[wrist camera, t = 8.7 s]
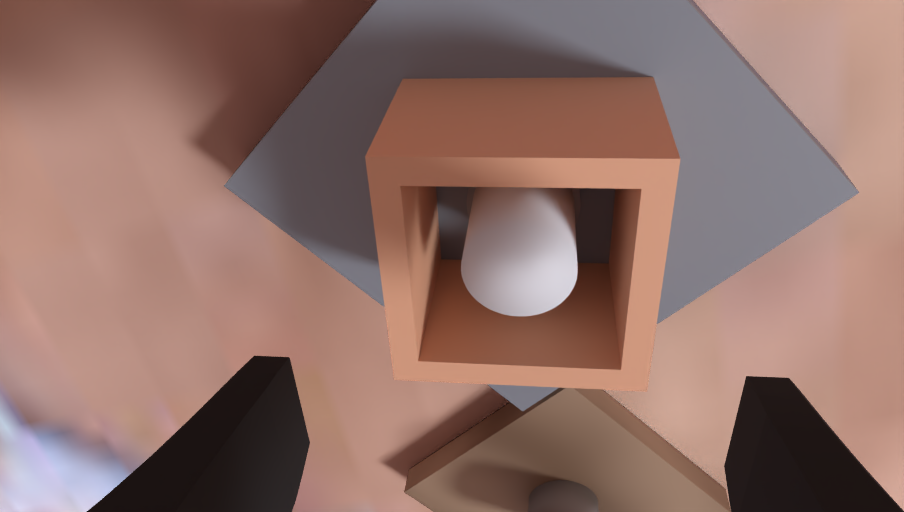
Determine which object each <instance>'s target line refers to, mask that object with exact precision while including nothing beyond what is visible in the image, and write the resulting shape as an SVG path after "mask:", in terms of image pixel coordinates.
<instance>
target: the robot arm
mask: <svg viewBox="0 0 904 512" xmlns="http://www.w3.org/2000/svg"><path fill="white" fill-rule="evenodd" d="M309 444H310V441H309V437H308V433H307V429H306V425H305V420H304V416H303V412H302V408H301V404H300V400H299V395H298V391H297V387H296V383H295V379H294V374H293V370H292V366H291V362H290V358H289V357H269V356H254V357H253V358H251V359H250V360H249V361H248V362H247V363H246V364H245V365H244V366H243V367H242V368H241V369H240V370H239V371H238V372H237V373H236V374H235V375H234V376H233V377H232V378H231V379H230V380H229V381H228V382H227V383H226V384H225V385H224V386H223V387H222V388H221V389H220V390H219V391H218V392H217V393H216V394H215V395H214V396H213V397H212V398H211V399H210V400H209V401H208V402H207V403H206V404H205V405H204V406H203V407H202V408H201V409H200V410H199V411H198V412H197V413H196V414H195V415H194V416H193V417H192V418H191V419H189V420H188V421H187V422H186V423H185V424H184V425H183V426H182V427H181V428H180V429H179V430H178V431H177V432H176V433H175V434H174V435H173V436H172V437H171V438H170V439H169V440H167V441H166V442H165V443H164V444H163V445H162V446H161V447H160V448H159V449H158V450H157V451H156V452H155V453H154V454H153V455H152V456H151V457H149V458H148V459H147V460H146V461H145V462H144V463H143V464H142V465H140V466H139V467H138V468H137V469H136V470H135V471H134V472H133V473H131V474H130V475H129V476H128V477H127V478H126V479H125V480H123V481H122V482H121V483H120V484H119V485H118V486H117V487H115V488H114V489H113V490H112V491H111V492H110V493H109V494H108V495H106V496H105V497H104V498H103V499H102V500H100V501H99V502H98V503H97V504H96V505H94V506H93V507H92V508H91V509H90V510H88V511H87V512H292V509H293V506H294V504H295V501H296V497H297V493H298V489H299V486H300V482H301V478H302V474H303V470H304V465H305V461H306V457H307V453H308V448H309ZM724 467H725V474H726V481H727V487H728V494H729V501H730V507H731V512H904V511H903V510H902V509H901V508H900V507H899V505H898V504H897V503H896V502H895V501H894V500H893V499H892V498H891V497H890V496H889V494H888V493H887V492H886V491H885V490H884V489H883V488H882V487H881V486H880V484H879V483H878V482H877V481H876V480H875V479H874V478H873V477H872V476H871V474H870V473H869V472H868V471H867V470H866V469H865V468H864V467H863V465H862V464H861V463H860V462H859V461H858V460H857V459H856V457H855V456H854V455H853V454H852V453H851V452H850V450H849V449H848V448H847V447H846V446H845V444H844V443H843V442H842V441H841V440H840V439H839V437H838V436H837V435H836V434H835V433H834V431H833V430H832V429H831V428H830V427H829V425H828V424H827V423H826V422H825V421H824V419H823V418H822V417H821V416H820V415H819V413H818V412H817V411H816V410H815V408H814V407H813V406H812V405H811V404H810V402H809V401H808V400H807V399H806V397H805V396H804V395H803V394H802V393H801V391H800V390H799V389H798V388H797V387H796V385H795V384H794V383H793V382H792V381H791V380H790V379H789V378H776V377H752V376H746V380H745V384H744V388H743V392H742V396H741V400H740V404H739V408H738V413H737V417H736V421H735V425H734V429H733V433H732V437H731V441H730V445H729V449H728V453H727V457H726V462H725V466H724Z"/></svg>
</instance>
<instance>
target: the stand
mask: <svg viewBox="0 0 904 512" xmlns="http://www.w3.org/2000/svg"><path fill="white" fill-rule="evenodd" d="M404 492H405V493H406V494H408V495H409V496H411V497H412V498H414V499H415V500H417V501H418V502H420V503H421V504H423V505H424V506H426V507H427V508H429V509H430V510H432V511H433V512H731V510H730V506H729V502H728V498H727V493H726V489H725V488H724V487H722V486H721V485H720V484H719V483H717V482H716V481H715V480H714V479H712V478H711V477H710V476H709V475H707V474H706V473H705V472H704V471H702V470H701V469H700V468H699V467H698V466H696V465H695V464H694V463H693V462H691V461H690V460H689V459H688V458H686V457H685V456H684V455H683V454H681V453H680V452H679V451H678V450H676V449H675V448H674V447H673V446H672V445H670V444H669V443H668V442H667V441H665V440H664V439H663V438H662V437H660V436H659V435H658V434H657V433H655V432H654V431H653V430H652V429H650V428H649V427H648V426H647V425H645V424H644V423H643V422H642V421H641V420H639V419H638V418H637V417H636V416H634V415H633V414H632V413H631V412H629V411H628V410H627V409H626V408H624V407H623V406H622V405H621V404H619V403H618V402H617V401H616V400H615V399H613V398H612V397H611V396H610V395H608V394H607V393H606V392H605V391H603V390H602V389H581V388H558V389H557V390H555V391H553V392H552V393H550V394H549V395H547V396H546V397H544V398H543V399H541V400H540V401H538V402H537V403H535V404H533V405H532V406H530V407H529V408H527V409H526V410H524V411H522V410H520V409H519V408H518V407H516V406H515V405H514V404H512V403H511V402H510V403H508V404H507V405H505V406H504V407H502V408H501V409H499V410H498V411H496V412H495V413H493V414H492V415H490V416H489V417H487V418H486V419H484V420H483V421H481V422H480V423H478V424H477V425H475V426H474V427H472V428H471V429H469V430H468V431H466V432H465V433H463V434H462V435H460V436H459V437H457V438H456V439H454V440H453V441H451V442H450V443H448V444H447V445H445V446H444V447H442V448H441V449H439V450H438V451H436V452H435V453H433V454H432V455H430V456H429V457H427V458H426V459H424V460H423V461H421V462H420V463H418V464H417V465H415V466H414V467H412V468H411V469H409V472H408V477H407V481H406V486H405V491H404Z"/></svg>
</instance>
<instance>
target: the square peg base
mask: <svg viewBox="0 0 904 512" xmlns="http://www.w3.org/2000/svg"><path fill="white" fill-rule="evenodd" d="M591 77H654V80H655V83H656V86H657V89H658V92H659V95H660V98H661V101H662V104H663V107H664V110H665V113H666V116H667V119H668V122H669V125H670V128H671V131H672V134H673V138H674V141H675V144H676V147H677V150H678V153H679V156H680V166H679V173H678V180H677V187H676V194H675V201H674V208H673V215H672V221H671V228H670V235H669V242H668V249H667V256H666V263H665V270H664V277H663V284H662V291H661V298H660V304H659V311H658V318H657V324H658V323H660V322H661V321H663V320H664V319H666V318H667V317H669V316H670V315H672V314H673V313H675V312H676V311H678V310H680V309H681V308H683V307H684V306H686V305H687V304H689V303H690V302H692V301H693V300H695V299H696V298H698V297H700V296H701V295H703V294H704V293H706V292H707V291H709V290H710V289H712V288H713V287H715V286H716V285H718V284H720V283H721V282H723V281H724V280H726V279H727V278H729V277H730V276H732V275H733V274H735V273H736V272H738V271H740V270H741V269H743V268H744V267H746V266H747V265H749V264H750V263H752V262H753V261H755V260H756V259H758V258H760V257H761V256H763V255H764V254H766V253H767V252H769V251H770V250H772V249H773V248H775V247H776V246H778V245H780V244H781V243H783V242H784V241H786V240H787V239H789V238H790V237H792V236H793V235H795V234H796V233H798V232H800V231H801V230H803V229H804V228H806V227H807V226H809V225H810V224H812V223H813V222H815V221H816V220H818V219H819V218H821V217H823V216H824V215H826V214H827V213H829V212H830V211H832V210H833V209H835V208H836V207H838V206H839V205H841V204H843V203H844V202H846V201H847V200H849V199H850V198H852V197H853V196H855V195H856V194H858V193H859V192H858V190H857V189H856V187H855V186H854V185H853V183H852V182H851V181H850V179H849V178H848V176H847V175H846V174H845V172H844V171H843V170H842V168H841V167H840V165H839V164H838V163H837V162H836V161H835V159H834V158H833V157H832V156H831V155H830V154H829V153H828V152H827V151H826V149H825V148H824V147H823V146H822V145H821V144H820V143H819V142H818V140H817V139H816V138H815V137H814V136H813V135H812V134H811V133H810V131H809V130H808V129H807V128H806V127H805V126H804V125H803V124H802V122H801V121H800V120H799V119H798V118H797V117H796V116H795V115H794V113H793V112H792V111H791V110H790V109H789V108H788V107H787V106H786V104H785V103H784V102H783V101H782V100H781V99H780V98H779V97H778V95H777V94H776V93H775V92H774V91H773V90H772V89H771V88H770V86H769V85H768V84H767V83H766V82H765V81H764V80H763V79H762V78H761V76H760V75H759V74H758V73H757V72H756V71H755V70H754V69H753V67H752V66H751V65H750V64H749V63H748V62H747V61H746V60H745V58H744V57H743V56H742V55H741V54H740V53H739V52H738V51H737V49H736V48H735V47H734V46H733V45H732V44H731V43H730V42H729V40H728V39H727V38H726V37H725V36H724V35H723V34H722V33H721V31H720V30H719V29H718V28H717V27H716V26H715V25H714V24H713V22H712V21H711V20H710V19H709V18H708V17H707V16H706V15H705V13H704V12H703V11H702V10H701V9H700V8H699V7H698V6H697V5H696V3H695V2H694V1H693V0H376V1H375V2H374V4H373V5H372V6H371V7H370V9H369V10H368V11H367V12H366V13H365V15H364V16H363V17H362V18H361V19H360V21H359V22H358V23H357V24H356V25H355V27H354V28H353V29H352V30H351V32H350V33H349V34H348V35H347V36H346V38H345V39H344V40H343V41H342V42H341V44H340V45H339V46H338V47H337V48H336V50H335V51H334V52H333V53H332V55H331V56H330V57H329V58H328V59H327V61H326V62H325V63H324V64H323V65H322V67H321V68H320V69H319V70H318V71H317V73H316V74H315V75H314V76H313V78H312V79H311V80H310V81H309V82H308V84H307V85H306V86H305V87H304V88H303V90H302V91H301V92H300V93H299V95H298V96H297V97H296V98H295V99H294V101H293V102H292V103H291V104H290V105H289V107H288V108H287V109H286V110H285V111H284V113H283V114H282V115H281V116H280V118H279V119H278V120H277V121H276V122H275V124H274V125H273V126H272V127H271V128H270V130H269V131H268V132H267V133H266V134H265V136H264V137H263V138H262V139H261V141H260V142H259V143H258V144H257V145H256V147H255V148H254V149H253V150H252V151H251V153H250V154H249V155H248V156H247V157H246V159H245V160H244V161H243V162H242V164H241V165H240V166H239V168H238V169H237V170H236V171H235V173H234V174H233V175H232V176H231V178H230V179H229V180H228V181H227V183H226V184H225V185H224V186H225V187H226V188H227V189H229V190H230V191H231V192H233V193H234V194H235V195H237V196H238V197H239V198H241V199H242V200H243V201H245V202H246V203H247V204H249V205H250V206H251V207H253V208H254V209H255V210H257V211H258V212H259V213H261V214H262V215H263V216H264V217H266V218H267V219H268V220H270V221H271V222H272V223H274V224H275V225H276V226H278V227H279V228H280V229H282V230H283V231H284V232H286V233H287V234H288V235H290V236H291V237H292V238H294V239H295V240H296V241H298V242H299V243H300V244H302V245H303V246H304V247H306V248H307V249H308V250H310V251H311V252H312V253H314V254H315V255H316V256H317V257H319V258H320V259H321V260H323V261H324V262H325V263H327V264H328V265H329V266H331V267H332V268H333V269H335V270H336V271H337V272H339V273H340V274H341V275H343V276H344V277H345V278H347V279H348V280H349V281H351V282H352V283H353V284H355V285H356V286H357V287H359V288H360V289H361V290H363V291H364V292H365V293H366V294H368V295H369V296H370V297H372V298H373V299H374V300H376V301H377V302H378V303H380V304H381V305H382V306H384V298H383V291H382V283H381V275H380V268H379V260H378V252H377V245H376V237H375V229H374V221H373V214H372V206H371V198H370V191H369V183H368V175H367V168H366V160H365V156H366V154H367V152H368V150H369V147H370V145H371V143H372V141H373V139H374V137H375V135H376V133H377V131H378V129H379V127H380V125H381V123H382V121H383V118H384V116H385V114H386V112H387V110H388V108H389V106H390V104H391V102H392V100H393V98H394V96H395V94H396V92H397V89H398V87H399V85H400V83H401V81H402V79H441V78H591ZM436 192H437V207H438V221H439V235H440V250H441V259H449V260H462V261H461V274H462V278H463V282H464V284H465V286H466V288H467V290H468V291H469V293H470V294H471V295H472V296H473V297H474V298H475V299H476V300H477V301H478V302H479V303H480V304H482V305H483V306H485V307H487V308H488V309H490V310H492V311H495V312H497V313H501V314H504V315H509V316H533V315H537V314H541V313H544V312H547V311H549V310H551V309H553V308H555V307H556V306H558V305H559V304H561V303H562V302H563V301H564V300H565V299H566V298H567V297H568V296H569V294H570V293H571V291H572V290H573V288H574V286H575V283H576V280H577V274H578V266H577V263H609V255H610V244H611V233H612V222H613V211H614V200H615V189H613V188H530V187H448V186H436ZM384 307H385V306H384ZM487 385H488V386H490V387H491V388H492V389H494V390H495V391H496V392H498V393H499V394H500V395H502V396H503V397H504V398H506V399H507V400H508V401H510V402H511V403H512V404H514V405H515V406H516V407H518V408H519V409H520V410H522V411H524V410H526V409H527V408H529V407H530V406H532V405H533V404H535V403H537V402H538V401H540V400H541V399H543V398H544V397H546V396H547V395H549V394H550V393H552V392H553V391H555V390H557V389H558V388H559V387H537V386H516V385H494V384H487Z"/></svg>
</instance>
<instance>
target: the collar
mask: <svg viewBox="0 0 904 512" xmlns="http://www.w3.org/2000/svg"><path fill="white" fill-rule="evenodd" d="M365 160H366V168H367V175H368V183H369V191H370V198H371V206H372V214H373V221H374V229H375V237H376V245H377V252H378V260H379V268H380V275H381V283H382V291H383V298H384V306H385V314H386V322H387V329H388V337H389V345H390V352H391V360H392V368H393V375H394V380H408V381H430V382H451V383H473V384H494V385H516V386H537V387H559V388H581V389H602V390H624V391H645V392H647V388H648V381H649V374H650V367H651V360H652V353H653V346H654V339H655V332H656V325H657V318H658V311H659V304H660V298H661V291H662V284H663V277H664V270H665V263H666V256H667V249H668V242H669V235H670V228H671V221H672V215H673V208H674V201H675V194H676V187H677V180H678V173H679V166H680V156H679V153H678V150H677V147H676V144H675V141H674V138H673V134H672V131H671V128H670V125H669V122H668V119H667V116H666V113H665V110H664V107H663V104H662V101H661V98H660V95H659V92H658V89H657V86H656V83H655V80H654V77H591V78H441V79H402V81H401V83H400V85H399V87H398V89H397V92H396V94H395V96H394V98H393V100H392V102H391V104H390V106H389V108H388V110H387V112H386V114H385V116H384V118H383V121H382V123H381V125H380V127H379V129H378V131H377V133H376V135H375V137H374V139H373V141H372V143H371V145H370V147H369V150H368V152H367V154H366V156H365ZM436 186H448V187H530V188H613V189H615V200H614V211H613V222H612V233H611V244H610V255H609V263H577V266H578V274H577V280H576V283H575V286H574V288H573V290H572V291H571V293H570V294H569V296H568V297H567V298H566V299H565V300H564V301H563V302H562V303H561V304H559V305H558V306H556V307H555V308H553V309H551V310H549V311H547V312H544V313H541V314H537V315H533V316H509V315H504V314H501V313H497V312H495V311H492V310H490V309H488V308H487V307H485V306H483V305H482V304H480V303H479V302H478V301H477V300H476V299H475V298H474V297H473V296H472V295H471V294H470V293H469V291H468V290H467V288H466V286H465V284H464V282H463V278H462V274H461V261H462V260H449V259H441V250H440V235H439V221H438V207H437V192H436Z"/></svg>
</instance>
